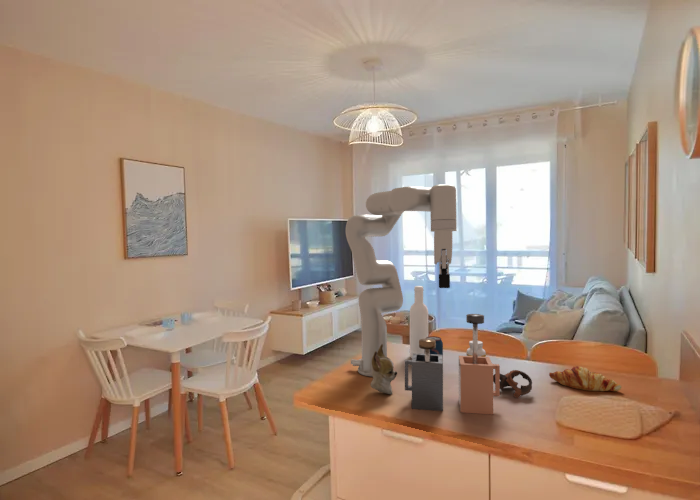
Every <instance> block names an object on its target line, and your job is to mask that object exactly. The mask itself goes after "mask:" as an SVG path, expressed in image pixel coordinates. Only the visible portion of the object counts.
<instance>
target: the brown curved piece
mask: <svg viewBox="0 0 700 500" xmlns="http://www.w3.org/2000/svg"><path fill="white" fill-rule="evenodd" d="M519 376H521V377H522V378H523V379H524V380H527V382H528V384H527V385H520V387H518V384H519V383H518V382H517V381H515V380H514V378H515V377H519ZM493 384H495V373H493ZM506 387H510V388H512V389H513V390H515V391H514V393H513V397H514V398H516V399H519V398H520V397H521V396H525V395H528V394H530V393H531V392H532V390H533V389H532V388H533V380H532V378H531V376H529V375H528V374H527V373H526V372H524V371H521V370H519V369H518V370H517V369H513V370H510V371H509V372H507V373H505V374H502V373H500V390H501V391H502V390H503V389H504V388H506Z"/></svg>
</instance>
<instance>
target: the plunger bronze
mask: <svg viewBox="0 0 700 500" xmlns="http://www.w3.org/2000/svg"><path fill="white" fill-rule="evenodd" d="M419 348H421V349H425V361H427V362H430V349H435V348H436V341H435V340H433V339H420V340H419Z"/></svg>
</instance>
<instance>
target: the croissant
mask: <svg viewBox="0 0 700 500" xmlns="http://www.w3.org/2000/svg"><path fill="white" fill-rule="evenodd" d="M548 375H549V378H550V379H552V380H553V381H555V382H558V383H559V384H560V385H562V386H563V387H564V386H565V387H569V388H571V389H577V390H582V391H583V390H584V391H588V392H593V391H594V392H596V391H597V392H598V391H599V392H607V391H610V392H619V391H621V389H622V385H621V384H620V383H617V382H616V381H615V380H614V379H612V378H608V377H606V376H604V375H603V374H602V372H594V371H590V370H589V368H587V367H583V366H578V365H574V366H573V367H572V368H571V369H569V368H565V369H564V370H562V371H559V370H558V371H554V372H549V374H548Z"/></svg>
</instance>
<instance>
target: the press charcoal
mask: <svg viewBox="0 0 700 500" xmlns="http://www.w3.org/2000/svg"><path fill="white" fill-rule="evenodd" d="M409 366H411V385H409ZM404 391H408V392H409V391H411V409H412V410H425V411H438V412H439V411H441V412H443V411H444V358H443V359H442V355H435V354H430V362H427V361H425V354H413V357H412V358H411V359H404Z"/></svg>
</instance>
